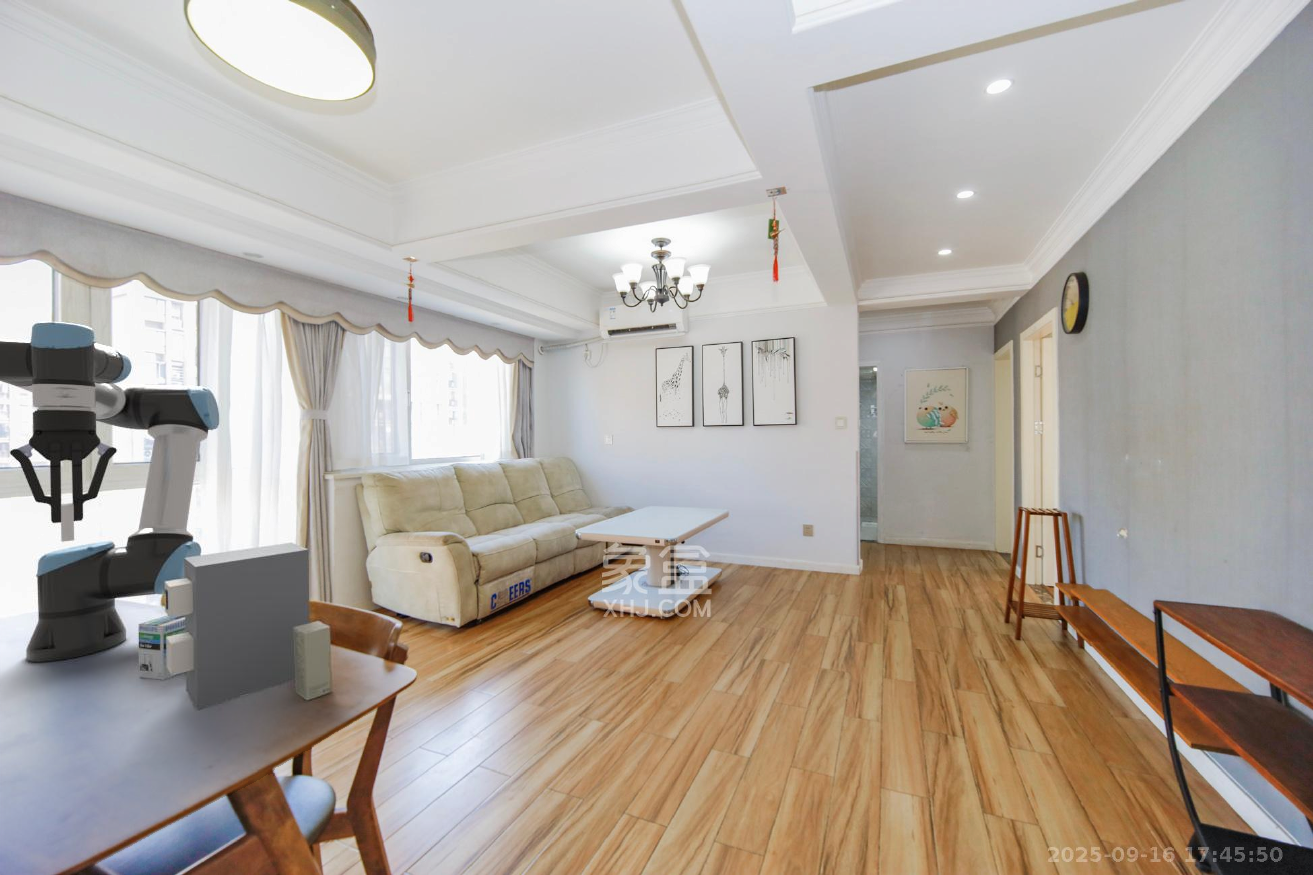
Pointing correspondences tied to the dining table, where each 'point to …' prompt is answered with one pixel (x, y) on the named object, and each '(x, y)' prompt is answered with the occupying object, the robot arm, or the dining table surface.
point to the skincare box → (312, 659)
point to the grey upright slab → (245, 620)
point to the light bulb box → (157, 645)
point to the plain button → (180, 653)
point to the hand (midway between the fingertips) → (67, 539)
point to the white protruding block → (179, 597)
